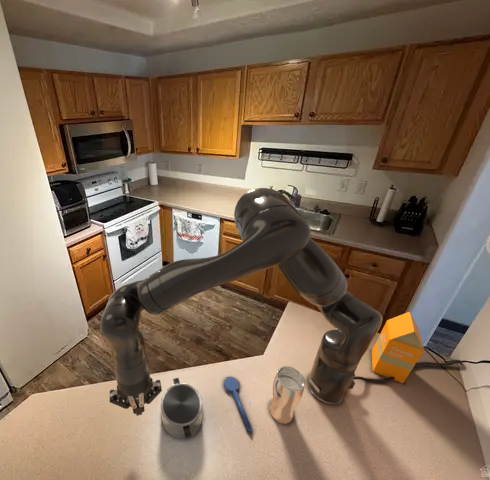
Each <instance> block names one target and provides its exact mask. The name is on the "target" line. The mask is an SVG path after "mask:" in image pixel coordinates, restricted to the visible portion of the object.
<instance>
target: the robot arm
mask: <svg viewBox="0 0 490 480" xmlns="http://www.w3.org/2000/svg"><path fill="white" fill-rule="evenodd" d="M234 207H235V208H234V210H233V211H234V213H233V219H234V226H235V227H236V230H237V233H238V234H239V236H240V238H241V240H242V241H241V242H239V243H238V244H236V245H235V246H234V247H232V248H230V249H228V250H227V251H225V252H222V253H220V254H216V255H214V256H213V255H212V256H209V257H200V258H199V257H198V258H184V259H179V260H176V261H172V262H170V263H168V264H166V265H165V266H163V267H161V268H160V269H158V270H157V271H155V272H154V273H152V274H150V275H148V276H147V277H146V278H144V279H140V280H136V281H133V282H129V283H127V284H124V285H122V286H119V287H118V288H117V289H116V290H114V291H113V292H112V293H111V295H110V296H109V298H108V300H107V303H106V306H105V308H104V311H103V313H102V315H101V318H100V323H99V326H100V327H99V328H100V330H99V331H100V334H101V337H102V339H103V341H104V342H105V343H106V345H107V347H108V348H109V349H110V351H111V356H112V361H113V363H112V364H113V371H114V376H115V379H116V384H117V385H116V389H110V390H109V403H111V404H112V405H115V406H118V407H120V408H123V409H124V410H128V409H129V408H132V413H133V414H134V415H136V416H137V417H138V416H141V415H143V413H144V412H145V404H146V405H150V404H151V403H152V402H153V401H155V399H156V398H157V397H158V396H159V395H160V393H161V392H162V391H163V390H162V389H163V388H162V383H161V380H160V379H157V380H155V381H154V380H153V378H152V377H151V374H150V373H151V372H150V367H149V357H148V354H147V351H146V350H147V349H146V343H145V342H146V341H145V338H144V334H143V332H142V331H141V329H139V328H140V327H139V325H140V321H141V316H142V312H143V311H145V312H147V313H148V314H150V315H154V316H155V315H157V316H158V315H161V314H164V313H165V312H167V311H169V310H171V309H172V308H174V307H176V306H178V305H180V304H181V303H183V302H185V301H187V300H189V299H191V298H192V297H195V296H197V295H199V294H201V293H203V292H206V291H208V290H211V289H214V288H216V287H219V286H222V285H225V284H228V283H230V282H234V281H237V280H240V279H242V278H245V277H248V276H251V275H253V274H256V273H259V272H262V271H265V270H267V269H270V268H273V267H276V266H277V267H278V269H279V270H280V272H281V274H282V275H283V276H284V278H285V279H286V280H287V282H288V283H289V284H290V286H291V287H292V288H293V289H294V290H295V291H296V292H297V293H298V295H300V296H301V297H302V298H303V299H304V300H305V301H307V302H308V303H310V304H311V305H314V306H316V307H317V308H318V310H319V311H320V313H321V315H322V316H323V317H324V319H325V320H326V321H327V322H328V323H329V324H330V325H331V326H333V328H334V329H330V330H327V331H326V332H325V333H323V335H322V337H321V341H320V343H319V346H318V349H317V352H316V355H315V359H314V361H313V364H312V367H311V370H310V372H309V376H308V377H307V380H306V384H307V388H308V390H309V392H310V393H311V394H312V395H313V396H314V398H316V399H317V400H318V401H320V402H321V403H323V404H327V405H331V406H332V405H333V406H334V405H338V404H340V403H342V401H343V399H344V397H345V396H346V395H347V393H348V391H349V390H352V389H354V387H355V384H356V382H355V380H359V381H360V380H362V381H364V382H371V383H373V382H374V383H386V382H390V381H395V380H394V379H395V378H394V377H389V378H388V377H384V378H369V377H368V378H367V377H363V376H356V374H355V372H356V370H357V368H358V366H359V364H360V361H361V360H362V358H363V356H364V355H365V354H366V352H367V351H368V349H369V347H370V345H371V344H372V342H373V340H374V338H375V337H376V335H377V334H378V332H379V330H380V329H381V326H382V324H383V316H382V314H381V312H379V310H377V309H375V308H373V306H370V305H369V304H368V303H366V302H365V301H364V300H363V299H360V298H359V297H357V296H356V295H354V294H353V293H351V292H349V291H348V281H347V277H346V276H345V273H344V272H343V271H342V269H341V268H340V266H339V265H338V264H337V262H336V261H335V260H334V259H333V258H332V257H331V256H330V255H329V254H328V253H327V252H326V250H324V248H323V247H321V245H320V244H319V243H317V241H316V240H314V238H312V236H311V235H312V234H311V233H312V232H311V227H310V224H309V223H308V222H307V220H306V219H305V217H303V215H302V214H301V213H300V211H298V209H297V208H296V207H295V206H294V204H293V203H292V202H291V201H290V200H289V199H288V198H287V197H286V195H284V194H283V193H281V192H280V191H278V190H275V189H272V188H268V187H257V188H252V189H250V190H248V191H246V192H245V193H244V194H242V196H240V198H239V199H238V200H237V203H236V204H235V206H234ZM460 361H461V360H460V359H455V360H454V359H453V360H451V361H448V362H432V361H431V362H430V361H417V362H416V364H415V366H414V367H416V366H438V367H444V366H445V367H446V366H451V365H454V364H460V365H462V363H461V362H460ZM459 362H460V363H459Z"/></svg>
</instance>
